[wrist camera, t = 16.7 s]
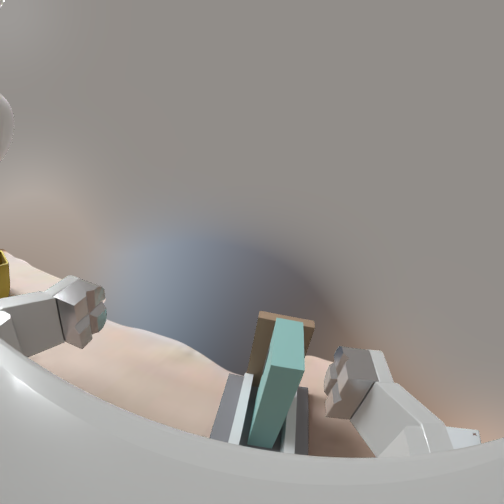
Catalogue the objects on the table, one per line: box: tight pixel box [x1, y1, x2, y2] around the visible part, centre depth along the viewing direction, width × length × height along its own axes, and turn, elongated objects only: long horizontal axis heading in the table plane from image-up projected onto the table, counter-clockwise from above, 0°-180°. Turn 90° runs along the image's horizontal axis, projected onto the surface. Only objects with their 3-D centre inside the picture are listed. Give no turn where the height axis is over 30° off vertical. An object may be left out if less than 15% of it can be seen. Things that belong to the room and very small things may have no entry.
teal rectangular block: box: [247, 318, 305, 448], centre depth 29 cm, size 3×8×14 cm, turn 172°
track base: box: [210, 311, 315, 455], centre depth 29 cm, size 12×18×13 cm, turn 172°
